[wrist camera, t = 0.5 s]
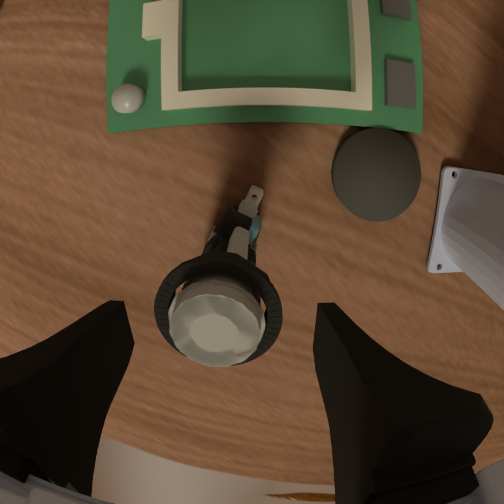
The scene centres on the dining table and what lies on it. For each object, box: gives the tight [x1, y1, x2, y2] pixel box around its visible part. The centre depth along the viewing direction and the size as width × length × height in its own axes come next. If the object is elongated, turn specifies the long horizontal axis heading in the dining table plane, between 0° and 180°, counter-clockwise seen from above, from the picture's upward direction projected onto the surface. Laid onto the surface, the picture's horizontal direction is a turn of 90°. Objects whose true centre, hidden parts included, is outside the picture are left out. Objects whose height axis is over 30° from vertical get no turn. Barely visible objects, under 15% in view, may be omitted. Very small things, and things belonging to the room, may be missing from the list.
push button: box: [154, 185, 283, 367], centre depth 16 cm, size 7×5×10 cm
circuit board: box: [107, 0, 423, 134], centre depth 15 cm, size 20×14×2 cm
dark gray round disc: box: [331, 128, 421, 221], centre depth 19 cm, size 6×6×1 cm
